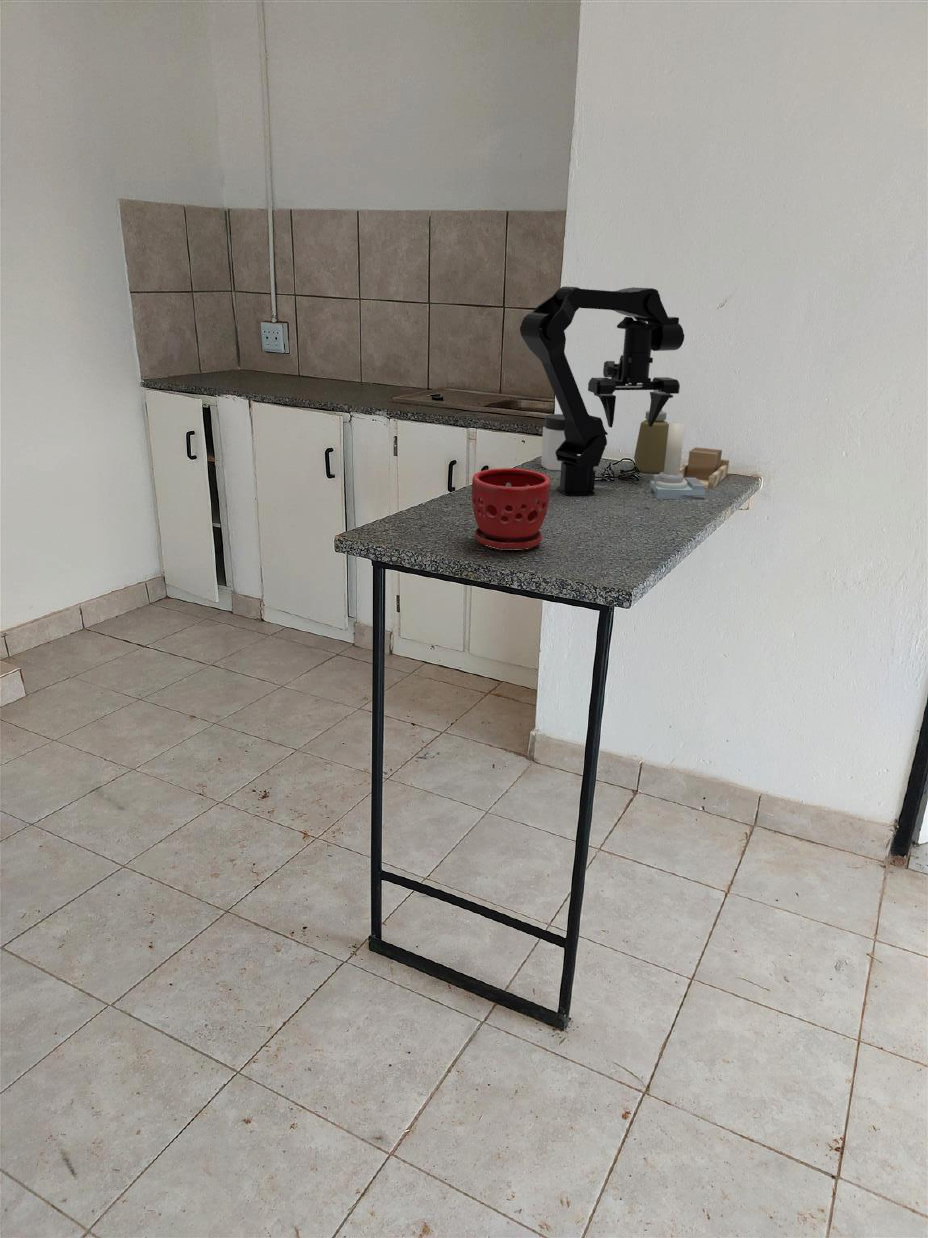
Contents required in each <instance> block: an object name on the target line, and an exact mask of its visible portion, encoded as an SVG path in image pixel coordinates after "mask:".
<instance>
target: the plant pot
mask: <svg viewBox="0 0 928 1238" xmlns="http://www.w3.org/2000/svg"><path fill="white" fill-rule="evenodd" d="M471 481H472V483H471V502H472V503H471V504H472V509H473V516H474V518H475V522H476V524H477V527H478V528H476V529H475V531H474V537H475V539H476V541H477V542H478V541H479V542H480V543H479V542H478V543H479V544H481V543H482V544H484V545H488V546H491V547H495V548H499V549H526V548H530V549H532V548H531V547H533V548H535V547H536V546H537V545H539V544H540V543H541V542H542V539H543V534H542V532H541V531H540V529H541V527H542V525H543V523H544V520H545V518H546V515H547V513H548V512H547V511H548V507H549V500H550V494H551V493H550V492H551V479H550V477H549V476H548V475H546V474H543V473H541V472H538V471H535V470H530V469H523V468H512V467H508V468H507V467H503V468H501V467H500V468H499V467H498V468H490V469H485V470H480V471H478V472H476V473H474V475H473V476H472V480H471ZM507 484H510V486H507ZM536 501H537V503H536ZM482 544H481V545H482ZM484 545H483V546H484ZM534 546H535V547H534Z"/></svg>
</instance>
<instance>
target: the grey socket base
mask: <svg viewBox="0 0 928 1238" xmlns="http://www.w3.org/2000/svg"><path fill="white" fill-rule="evenodd" d="M649 486H650V488H651V489H652V490H650V492H651V493H652V495H653V497H655V498H656V499H658V500H663V499H664V500H698V501H699V500H700V501H701V500H703V501H704V500H705V497H700V496H706V488H705V485H703V484H702V483H701V482H700V481H699V480H698V479H697V478H685V480H684V479H683V482H682V483H665V482H661V481H654V480H650V481H649Z"/></svg>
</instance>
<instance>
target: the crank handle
mask: <svg viewBox="0 0 928 1238" xmlns="http://www.w3.org/2000/svg"><path fill="white" fill-rule="evenodd" d="M668 424H669V429H668V439H667V448H666V457H665V466H664V471H663V472H660V473H653V475H652V478H653V481H661V482H665V483H682V482H683V474H682V473H680V472H679V471H680V467H681V463H682V462H681V461H682V453H683V444H684V436H685V423H683V422H678V421H677V422H673V421H672V422H668Z"/></svg>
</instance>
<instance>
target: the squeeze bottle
mask: <svg viewBox="0 0 928 1238" xmlns="http://www.w3.org/2000/svg"><path fill="white" fill-rule="evenodd" d="M649 412H650V410H646V411H645V417H644V418H645V420H643V421H641V422H640V427H639V431H638V435H637V436H638V437H637V441H636V447H635V450H634V451H635V452H634V456H633V460H634V463H635V468H636V467H637V468H638V469H639V472H642V473H645V474H646V473H649V474H659V473H660V472H663V471H664V466H665V457H666V448H667V439H668V429H669V422H668V421H666V420H667V412H666V411H663V408H662V409H661V411H660V413H659V415H658V416H657V418H656V420H655V422H654V424H653V425H652V427H649V426H648V419H649ZM637 468H636V469H637Z"/></svg>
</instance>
